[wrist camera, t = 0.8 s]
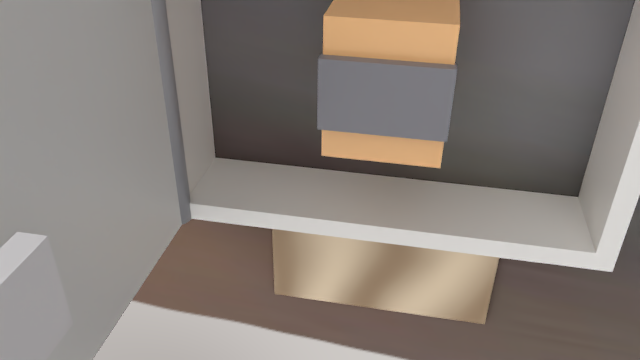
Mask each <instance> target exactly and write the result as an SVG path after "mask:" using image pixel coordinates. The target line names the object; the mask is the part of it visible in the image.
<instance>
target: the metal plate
mask: <svg viewBox="0 0 640 360" xmlns="http://www.w3.org/2000/svg"><path fill="white" fill-rule="evenodd" d="M272 241H273V266H274V291H275V294H278V295H285V296H292V297H299V298H306V299H313V300H320V301H327V302H334V303H341V304H347V305H354V306H361V307H368V308H375V309H382V310H389V311H396V312H403V313H410V314H417V315H424V316H431V317H438V318H445V319H452V320H459V321H465V322H472V323H479V324H485V320H486V316H487V311H488V307H489V302H490V297H491V293H492V288H493V284H494V279H495V275H496V270H497V266H498V261H499V257H491V256H483V255H475V254H467V253H459V252H451V251H443V250H436V249H428V248H420V247H412V246H404V245H396V244H388V243H380V242H372V241H364V240H357V239H349V238H341V237H333V236H325V235H317V234H309V233H301V232H293V231H285V230H278V229H272Z"/></svg>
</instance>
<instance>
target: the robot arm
mask: <svg viewBox="0 0 640 360" xmlns="http://www.w3.org/2000/svg"><path fill="white" fill-rule="evenodd" d="M72 325H73V321H72V318H71V314H70V311H69V307H68V304H67V301H66V297H65V294H64V290H63V287H62V283H61V280H60V277H59V273H58V270H57V266H56V263H55V259H54V256H53V253H52V249H51V246H50V242H49V239H48V236H44V235H37V234H30V233H22V232H16V233H15V234H14V235H13V236H12V237H11V238H10V239H9V240H8V241H7V242H6V243H5V244H4V245H3V246H2V247H1V248H0V360H46V359H47V358H48V357H49V355H50V354H51V353H52V351H53V350H54V349H55V347H56V346H57V345H58V343H59V342H60V341H61V339H62V338H63V337H64V335H65V334H66V333H67V331H68V330H69V329H70V327H71V326H72Z"/></svg>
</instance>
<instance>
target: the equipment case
mask: <svg viewBox="0 0 640 360" xmlns="http://www.w3.org/2000/svg"><path fill="white" fill-rule="evenodd" d="M639 195H640V0H635V3H634V6H633V10H632V13H631V16H630V20H629V23H628V27H627V30H626V34H625V37H624V41H623V44H622V47H621V51H620V54H619V58H618V61H617V65H616V68H615V72H614V75H613V78H612V82H611V85H610V89H609V92H608V96H607V99H606V103H605V106H604V109H603V113H602V116H601V120H600V123H599V127H598V130H597V134H596V137H595V140H594V144H593V147H592V151H591V154H590V158H589V161H588V165H587V168H586V171H585V175H584V178H583V182H582V185H581V189H580V192H579V196H578V197H573V196H564V195H555V194H546V193H537V192H527V191H518V190H509V189H500V188H491V187H482V186H472V185H463V184H454V183H445V182H436V181H427V180H417V179H408V178H399V177H390V176H381V175H372V174H362V173H353V172H344V171H335V170H326V169H317V168H307V167H298V166H289V165H280V164H271V163H261V162H252V161H243V160H234V159H225V158H216V157H215V147H214V136H213V125H212V115H211V104H210V94H209V83H208V73H207V62H206V51H205V41H204V30H203V20H202V9H201V0H0V248H1V247H2V246H3V245H4V244H5V243H6V242H7V241H8V240H9V239H10V238H11V237H12V236H13V235H14V234H15V233H16V232H22V233H30V234H37V235H44V236H48V239H49V242H50V246H51V249H52V253H53V256H54V259H55V263H56V266H57V270H58V273H59V277H60V280H61V283H62V287H63V290H64V294H65V297H66V301H67V304H68V307H69V311H70V314H71V318H72V321H73V325H72V326H71V327H70V329H69V330H68V331H67V333H66V334H65V335H64V337H63V338H62V339H61V341H60V342H59V343H58V345H57V346H56V347H55V349H54V350H53V351H52V353H51V354H50V355H49V357H48V358H47V359H46V360H93V358H94V357H95V355H96V353H97V352H98V351H99V349H100V348H101V346H102V345H103V343H104V341H105V340H106V339H107V337H108V336H109V334H110V333H111V331H112V330H113V328H114V327H115V325H116V323H117V322H118V320H119V319H120V317H121V316H122V314H123V313H124V311H125V310H126V308H127V307H128V305H129V304H130V302H131V301H132V299H133V298H134V296H135V295H136V293H137V292H138V290H139V289H140V287H141V286H142V284H143V283H144V281H145V280H146V278H147V277H148V275H149V274H150V272H151V271H152V269H153V268H154V266H155V264H156V263H157V261H158V260H159V258H160V257H161V255H162V254H163V252H164V251H165V249H166V248H167V246H168V245H169V243H170V242H171V240H172V239H173V237H174V236H175V234H176V233H177V231H178V230H179V228H180V227H181V225H182V224H185V223H187V222H189V221H190V220H191V219H199V220H206V221H214V222H222V223H230V224H238V225H246V226H254V227H262V228H270V229H278V230H285V231H293V232H301V233H309V234H317V235H325V236H333V237H341V238H349V239H357V240H364V241H372V242H380V243H388V244H396V245H404V246H412V247H420V248H428V249H436V250H443V251H451V252H459V253H467V254H475V255H483V256H491V257H499V258H507V259H515V260H522V261H530V262H538V263H546V264H554V265H562V266H570V267H578V268H586V269H594V270H601V271H609V272H612V271H613V268H614V266H615V263H616V260H617V257H618V254H619V252H620V249H621V246H622V243H623V240H624V237H625V235H626V232H627V229H628V226H629V223H630V221H631V218H632V215H633V212H634V209H635V207H636V204H637V201H638V198H639Z"/></svg>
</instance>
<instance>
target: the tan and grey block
mask: <svg viewBox="0 0 640 360" xmlns="http://www.w3.org/2000/svg"><path fill="white" fill-rule="evenodd" d="M459 29H460V0H333V2H332V3H331V5H330V6H329V8H328V9H327V11H326V13H325V14H324V16H323V53H321V54H320V56H319V58H318V98H317V129H319V130H322V154H321V156H329V157H338V158H348V159H357V160H367V161H376V162H386V163H395V164H405V165H414V166H424V167H433V168H440V167H441V160H442V152H443V145H444V142H447V140H448V133H449V126H450V119H451V112H452V104H453V97H454V90H455V83H456V76H457V64H455V58H456V51H457V44H458V37H459Z"/></svg>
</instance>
